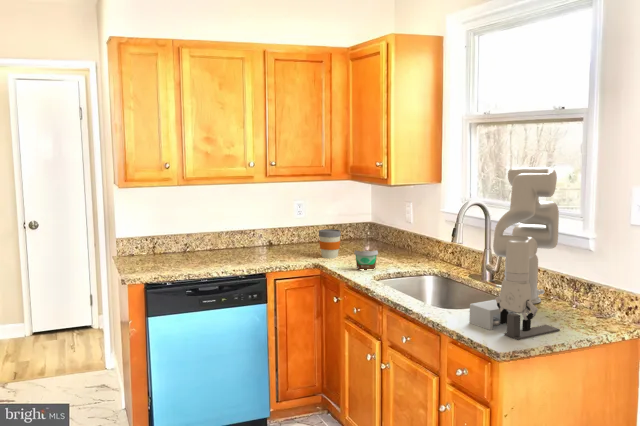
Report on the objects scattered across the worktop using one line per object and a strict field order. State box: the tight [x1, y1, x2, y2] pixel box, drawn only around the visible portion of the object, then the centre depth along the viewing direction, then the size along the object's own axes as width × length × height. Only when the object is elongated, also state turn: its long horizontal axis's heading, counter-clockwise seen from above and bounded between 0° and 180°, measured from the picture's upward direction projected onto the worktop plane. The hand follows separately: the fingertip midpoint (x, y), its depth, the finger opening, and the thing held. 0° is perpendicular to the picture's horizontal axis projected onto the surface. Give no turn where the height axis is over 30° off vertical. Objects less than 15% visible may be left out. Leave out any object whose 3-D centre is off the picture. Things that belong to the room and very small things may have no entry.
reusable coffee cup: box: [318, 228, 342, 259], centre depth 352 cm, size 13×13×15 cm
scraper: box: [503, 313, 560, 341], centre depth 213 cm, size 20×6×8 cm, turn 119°
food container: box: [353, 249, 379, 270], centre depth 317 cm, size 12×6×10 cm, turn 92°
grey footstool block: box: [468, 299, 518, 331], centre depth 224 cm, size 13×10×7 cm
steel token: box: [493, 317, 501, 327], centre depth 225 cm, size 5×5×2 cm
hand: (515, 327), depth 209 cm, fingers open, 9 cm apart
